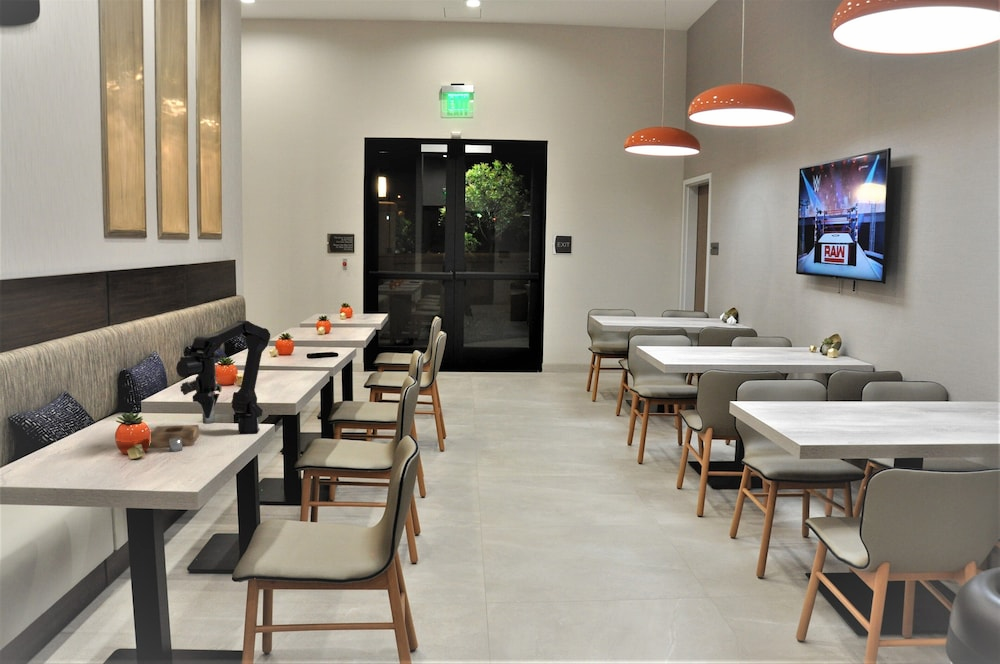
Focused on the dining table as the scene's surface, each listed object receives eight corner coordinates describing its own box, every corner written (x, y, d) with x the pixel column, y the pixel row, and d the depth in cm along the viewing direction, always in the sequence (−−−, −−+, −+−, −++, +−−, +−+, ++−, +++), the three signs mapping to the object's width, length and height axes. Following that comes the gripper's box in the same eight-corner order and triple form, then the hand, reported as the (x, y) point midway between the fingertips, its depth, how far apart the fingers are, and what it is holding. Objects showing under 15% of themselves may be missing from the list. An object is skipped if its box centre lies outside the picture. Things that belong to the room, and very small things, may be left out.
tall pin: (216, 420, 269) (215, 398, 268) (213, 423, 265) (212, 400, 264) (204, 421, 268) (202, 399, 267) (201, 424, 264) (200, 401, 263)
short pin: (183, 448, 262) (183, 437, 262) (180, 451, 258) (180, 440, 258) (171, 449, 262) (170, 437, 261) (168, 452, 258) (167, 440, 257)
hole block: (199, 436, 277) (198, 424, 277) (191, 445, 266) (191, 433, 265) (158, 438, 275) (157, 426, 274) (148, 447, 263) (148, 435, 263)
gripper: (188, 368, 272) (190, 411, 274) (175, 378, 254) (177, 424, 256) (220, 367, 274) (222, 410, 276) (210, 377, 256) (212, 422, 258)
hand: (208, 416), depth 266 cm, fingers closed on tall pin, 4 cm apart
